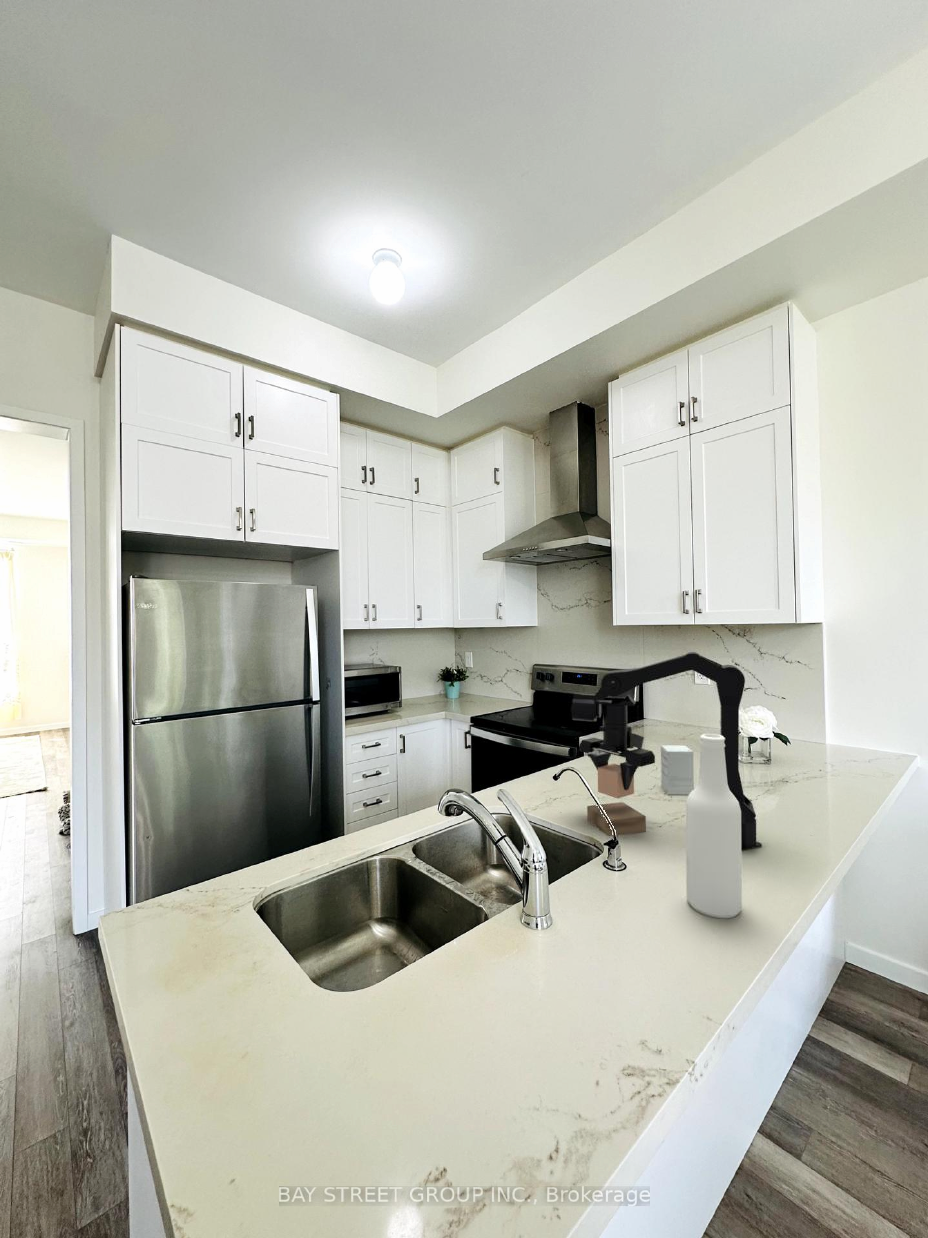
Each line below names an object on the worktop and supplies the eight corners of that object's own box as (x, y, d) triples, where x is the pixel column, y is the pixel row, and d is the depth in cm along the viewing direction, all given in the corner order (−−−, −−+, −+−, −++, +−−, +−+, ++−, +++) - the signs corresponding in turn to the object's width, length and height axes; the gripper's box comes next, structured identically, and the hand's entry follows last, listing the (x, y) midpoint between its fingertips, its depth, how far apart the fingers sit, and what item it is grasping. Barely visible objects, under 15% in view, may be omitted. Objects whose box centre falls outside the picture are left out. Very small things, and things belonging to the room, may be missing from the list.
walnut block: (645, 833, 126) (645, 816, 126) (608, 837, 123) (608, 820, 123) (622, 817, 136) (622, 802, 136) (587, 821, 133) (587, 806, 133)
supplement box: (686, 787, 158) (685, 745, 158) (694, 795, 151) (694, 751, 151) (660, 786, 159) (660, 744, 159) (667, 795, 152) (667, 750, 152)
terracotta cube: (633, 793, 129) (633, 769, 129) (617, 798, 125) (617, 773, 125) (614, 787, 134) (613, 763, 134) (598, 792, 130) (597, 767, 130)
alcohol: (739, 926, 87) (738, 744, 87) (682, 911, 92) (681, 738, 92) (743, 901, 95) (742, 733, 95) (690, 888, 99) (689, 728, 99)
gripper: (668, 724, 126) (669, 790, 126) (606, 713, 142) (607, 772, 142) (639, 730, 120) (640, 799, 120) (577, 718, 135) (578, 779, 135)
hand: (615, 786), depth 129 cm, fingers closed on terracotta cube, 6 cm apart
